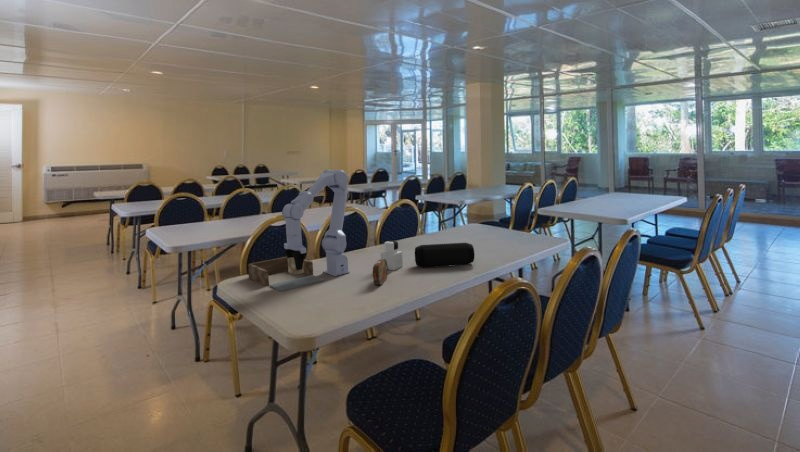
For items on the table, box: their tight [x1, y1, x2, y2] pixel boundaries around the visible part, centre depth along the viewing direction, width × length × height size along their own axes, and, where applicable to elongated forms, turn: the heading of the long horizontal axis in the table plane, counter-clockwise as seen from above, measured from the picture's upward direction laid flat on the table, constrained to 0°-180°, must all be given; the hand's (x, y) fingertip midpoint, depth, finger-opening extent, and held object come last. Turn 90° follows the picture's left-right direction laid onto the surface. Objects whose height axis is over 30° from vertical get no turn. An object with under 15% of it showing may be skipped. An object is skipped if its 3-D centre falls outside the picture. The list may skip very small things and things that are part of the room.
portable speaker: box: [414, 242, 475, 268], centre depth 195 cm, size 26×10×10 cm, turn 98°
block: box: [287, 257, 304, 276], centre depth 173 cm, size 4×4×6 cm
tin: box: [372, 258, 389, 286], centre depth 173 cm, size 15×3×8 cm, turn 168°
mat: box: [269, 274, 325, 292], centre depth 174 cm, size 9×19×1 cm, turn 132°
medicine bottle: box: [380, 240, 404, 271], centre depth 193 cm, size 7×7×12 cm
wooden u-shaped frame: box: [247, 256, 314, 287], centre depth 184 cm, size 17×21×6 cm
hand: (296, 268), depth 173 cm, fingers closed on block, 4 cm apart
